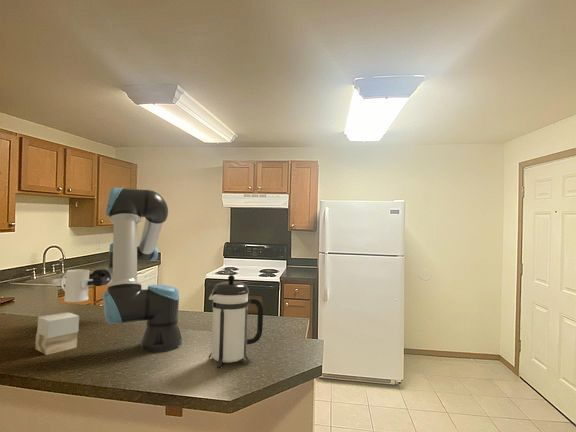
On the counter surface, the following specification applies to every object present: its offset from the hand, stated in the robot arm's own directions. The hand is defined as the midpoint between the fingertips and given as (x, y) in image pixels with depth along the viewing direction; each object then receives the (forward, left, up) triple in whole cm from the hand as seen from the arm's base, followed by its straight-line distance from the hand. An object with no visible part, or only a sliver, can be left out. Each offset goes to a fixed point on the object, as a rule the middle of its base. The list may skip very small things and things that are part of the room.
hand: (66, 283), depth 133 cm
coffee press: (-65, -28, -23) cm, 74 cm away
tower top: (-5, +4, -17) cm, 18 cm away
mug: (+2, -3, -7) cm, 8 cm away
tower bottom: (-5, +4, -23) cm, 24 cm away
